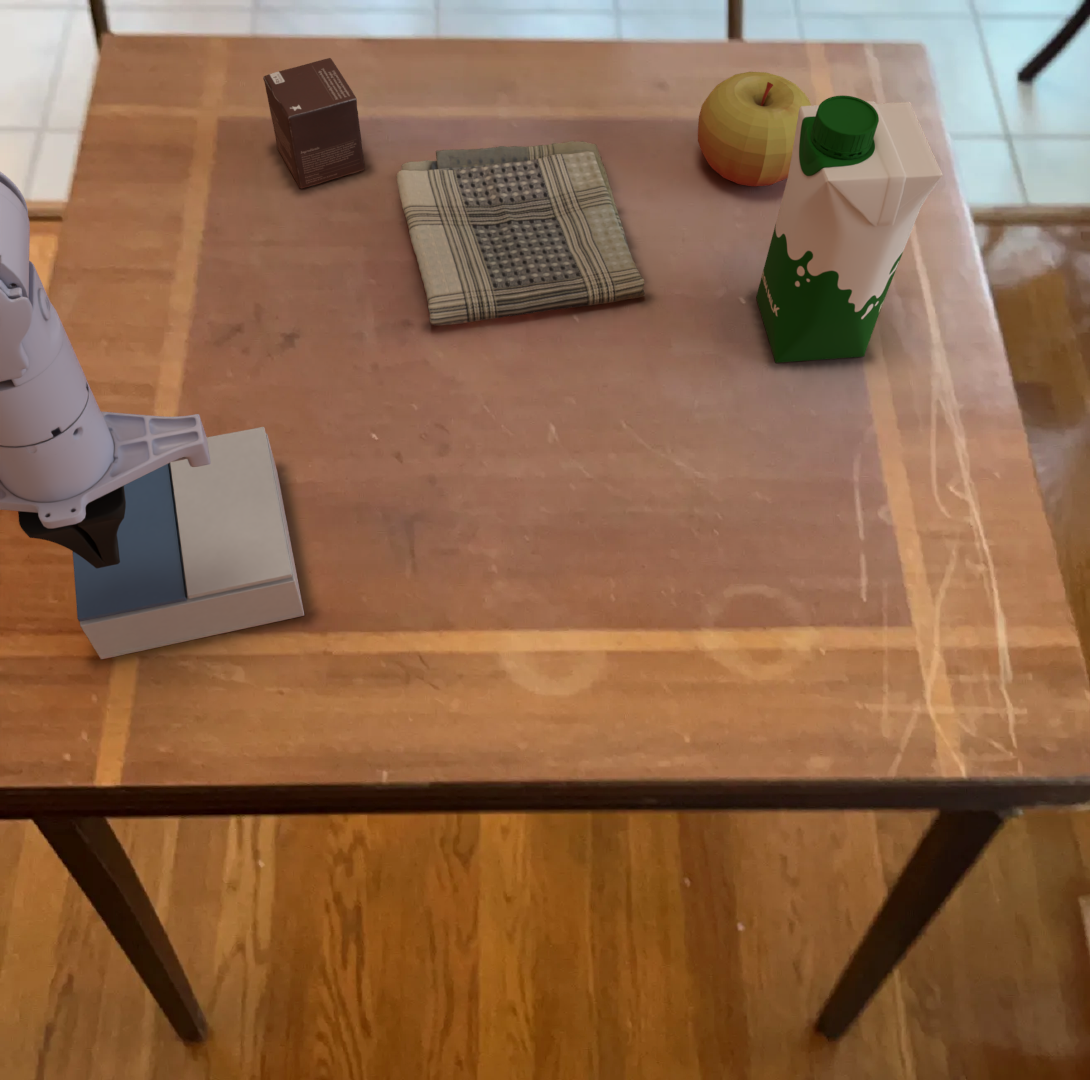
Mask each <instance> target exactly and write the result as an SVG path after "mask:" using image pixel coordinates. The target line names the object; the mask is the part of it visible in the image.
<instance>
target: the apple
mask: <svg viewBox="0 0 1090 1080" xmlns="http://www.w3.org/2000/svg"><path fill="white" fill-rule="evenodd" d="M801 106H812V104H811V101H810V98H808V96H807V95H806V93H805V92H804V91H803V90H802V89H801V88H800V87H799V86H798V85H797V84H796V83H794V82H793V81H790V80H789V79H787V78H785V77H783V76H780V75H777V74H773V73H769V72H767V71H766V72H765V71H745V72H740V73H736V74H734V75H732V76H730V77H728V78H726V79H725V80H723V81H721V82H719V83H717V84H716V85H715V86H714V88H713V89H712V91H711V92H710V93H709V94H708V95H707V97H706V99H705V100H704V101H703V102H702V104H701V108H700V111H699V115H698V124H697V143H698V145H699V148H700V150H701V153H702V155H703V156H704V159H705V160H706V162H707V164H708V165H709V166H710V167H711V169H713V171H715V172H716V173H717V174H718V175H720V176H721V177H722V178H723V179H726V180H728V181H729V182H730V181H731V182H733V183H735V184H736V185H737V184H738V185H743V186H748V187H766V186H772V185H773V184H774V185H775V184H776V183H779V182H781V181H784V180H786V179H788V174H789V169H790V163H791V157H792V151H793V145H794V139H795V133H796V126H797V120H798V114H799V108H800V107H801Z"/></svg>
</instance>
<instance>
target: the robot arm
mask: <svg viewBox="0 0 1090 1080" xmlns="http://www.w3.org/2000/svg"><path fill="white" fill-rule="evenodd" d="M30 223H31V222H30V218H29V209H28V206H27V202H26V200H25V197H24V195H23V194H22V192H21V190H20V189H19V187H18V186H17V185H16V184H15V183H14V182H13V181H12V180H11V178H9V177H8V176H7V175H6V174H4V173H3V172H2V171H0V510H1V511H13V512H18V523H19V526H20V529H21V530H22V532H24V534H25V535H26V536H27V537H28V538H29V539H38V540H44V541H47V542H51V543H54V544H57V545H59V546H62V547H64V548H66V549H68V550H70V551H71V552H72V553H73V552H75V553H76V554H78V555H79V556H81V557H82V558H84V559H85V560H86V561H88V562H89V563H90V564H91V565H93V566H94V567H95V568H102V567H107V566H111V565H116V564H119V563H120V557H119V548H118V539H117V532H118V528H119V526H120V523H121V522H122V520H123V519H124V516H125V509H126V500H125V491H124V485H126V484H128V483H130V482H132V481H134V480H136V479H138V478H140V477H142V476H144V475H146V474H148V473H150V472H152V471H154V470H156V469H158V468H160V467H162V466H164V465H166V464H168V463H170V462H174V461H179V460H184V459H187V460H188V462H189V465H190V466H191V467H199V466H204V465H209V464H211V461H210V454H209V448H208V443H207V437H208V436H207V433H206V431H205V428H204V427H205V426H204V425H203V422H202V419H201V415H200V414H199V413H195V414H189V415H180V416H179V415H178V416H164V415H152V414H151V415H150V414H139V413H125V412H114V411H113V412H112V411H102V410H101V408H100V406H99V404H98V402H97V399H96V397H95V395H94V393H93V391H92V389H91V386H90V384H89V381H88V380H87V376H86V374H85V372H84V370H83V368H82V366H81V363H80V360H79V358H78V356H77V354H76V351H75V349H74V347H73V344H72V343H71V340H70V338H69V336H68V334H67V332H66V330H65V329H66V328H65V326H64V325H63V322H62V320H61V318H60V316H59V314H58V311H57V309H56V308H55V306H54V304H53V303H52V302H51V300H50V297H49V296H48V293H47V291H46V289H45V287H44V284H43V282H42V280H41V278H40V276H39V273H38V271H37V269H36V266H35V265H34V263H33V262H32V261H30V247H31V245H30V241H31V240H30V239H31V224H30Z"/></svg>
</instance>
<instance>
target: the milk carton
mask: <svg viewBox="0 0 1090 1080" xmlns="http://www.w3.org/2000/svg"><path fill="white" fill-rule="evenodd" d="M930 145H931V144H930V143H929V141H928V138H927V136H926V135H925V132H924V130H923V128H922V126H921V123H920V120H919V119H918V116H917V115H916V112H915V110H914V108H913V105H912V103H911V102H910V101H900V102H880V103H879V102H877V103H876V102H875V101H874V100H873V101H872V100H871V101H868V100H867V101H866V100H863V99H862V98H860V97H855V96H852V95H834V96H830V97H828V98H826V99H824V100H823V101H821V103H820V104H814V105H811V106H801V107H800V108H799V114H798V120H797V126H796V133H795V139H794V145H793V151H792V157H791V163H790V169H789V174H788V178H786V179H787V180H786V183H785V187H784V189H783V190H784V191H783V194H782V197H781V202H780V206H779V210H778V213H777V216H776V221H775V225H774V228H773V232H772V235H771V240H770V243H769V247H768V250H767V254H766V258H765V263H764V266H763V270H762V273H761V277H760V281H759V285H758V288H757V292H756V296H755V298H756V302H757V307H758V309H759V312H760V316H761V319H762V322H763V325H764V329H765V333H766V335H767V336H766V337H767V339H768V342H769V344H770V345H769V346H770V349H771V352H772V355H773V359H774V362H775V363H776V364H777V363H791V362H792V363H793V362H806V361H820V360H834V359H836V360H837V359H849V358H862V357H865V356H866V353H867V349H868V346H869V344H870V340H871V338H872V335H873V332H874V330H875V327H876V324H877V322H878V318H879V315H880V314H881V310H882V308H883V305H884V302H885V300H886V297H887V294H888V291H889V289H890V287H891V283H892V281H893V279H894V276H895V274H896V272H897V269H898V267H899V263H900V261H901V258H902V256H903V254H904V252H905V248H906V246H907V244H908V241H909V239H910V237H911V234H912V231H913V228H914V226H915V224H916V221H917V218H918V216H919V213H920V212H921V208H922V207H923V204H925V201H926V200H927V199H928V197H929V196H930V195H931V193H932V191H933V190H934V189H935V187H936V186H937V185H938V183H939V181H940V180H941V179H942V177H943V176H944V175H943V172H942V170H941V168H940V165H939V163H938V161H937V159H936V157H935V154H934V153H933V150H932V148H931V146H930Z"/></svg>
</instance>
